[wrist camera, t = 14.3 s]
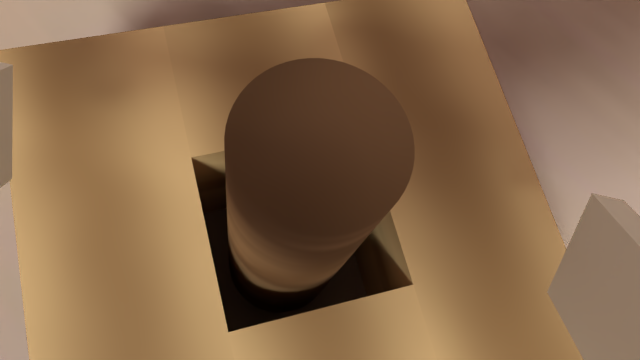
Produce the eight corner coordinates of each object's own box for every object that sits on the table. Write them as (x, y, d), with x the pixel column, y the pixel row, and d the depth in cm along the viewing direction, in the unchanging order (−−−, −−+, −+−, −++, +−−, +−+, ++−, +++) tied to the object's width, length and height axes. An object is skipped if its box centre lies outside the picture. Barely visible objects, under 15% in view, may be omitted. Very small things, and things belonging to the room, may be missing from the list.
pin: (315, 203, 25) (383, 45, 13) (341, 298, 23) (439, 211, 12) (219, 224, 24) (206, 74, 12) (241, 323, 22) (248, 255, 11)
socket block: (402, 88, 29) (459, -18, 22) (510, 399, 25) (627, 401, 17) (65, 149, 26) (-5, 50, 19) (118, 522, 22) (54, 588, 14)
